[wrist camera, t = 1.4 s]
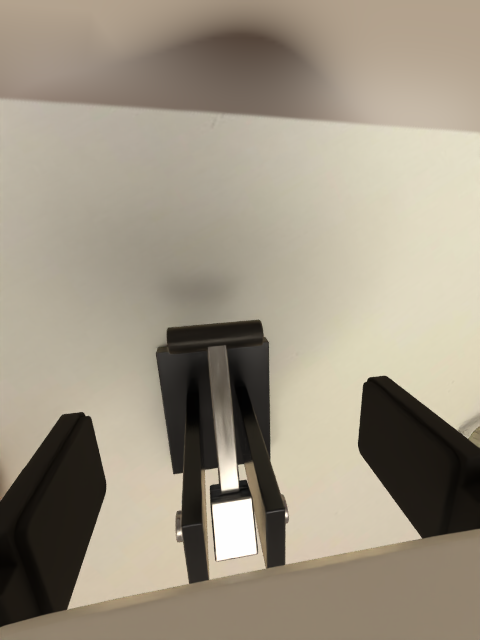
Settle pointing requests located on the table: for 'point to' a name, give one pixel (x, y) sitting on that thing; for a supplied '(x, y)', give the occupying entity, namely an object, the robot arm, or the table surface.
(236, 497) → the lever
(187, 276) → the table surface
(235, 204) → the table surface
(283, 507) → the bracket
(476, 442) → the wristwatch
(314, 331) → the table surface
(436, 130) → the table surface
